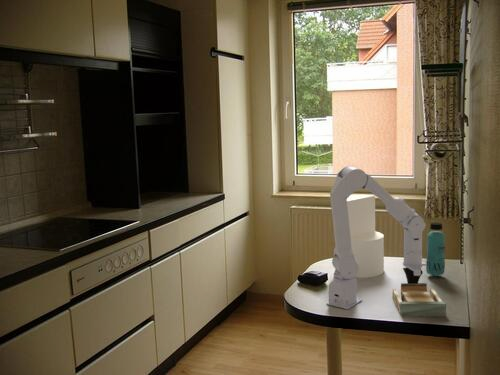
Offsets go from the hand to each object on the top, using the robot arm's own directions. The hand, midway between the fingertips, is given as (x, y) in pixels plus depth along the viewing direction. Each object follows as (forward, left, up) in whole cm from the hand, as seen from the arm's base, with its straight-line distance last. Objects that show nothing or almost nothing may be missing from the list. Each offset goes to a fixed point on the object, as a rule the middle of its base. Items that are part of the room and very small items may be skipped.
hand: (412, 290), depth 175 cm
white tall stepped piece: (+16, +28, -3) cm, 32 cm away
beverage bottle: (+24, +2, -3) cm, 24 cm away
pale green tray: (-6, -4, -2) cm, 8 cm away
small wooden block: (-6, -4, -2) cm, 8 cm away
